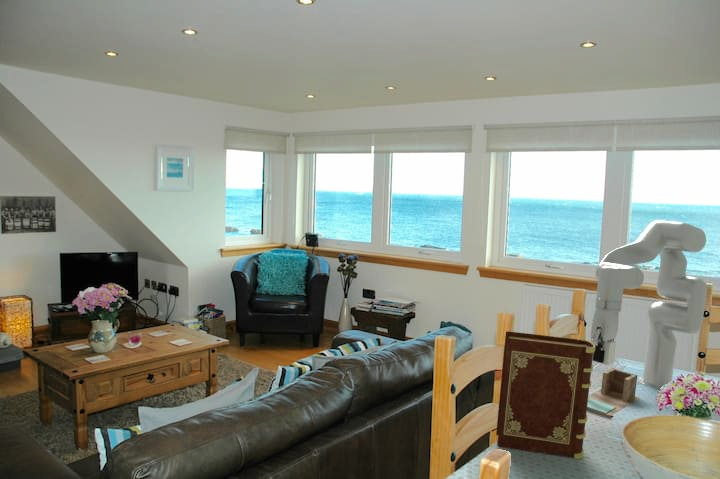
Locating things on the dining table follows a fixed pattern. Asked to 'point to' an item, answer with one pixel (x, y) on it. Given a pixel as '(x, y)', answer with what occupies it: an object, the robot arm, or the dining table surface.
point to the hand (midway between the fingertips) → (601, 359)
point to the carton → (608, 351)
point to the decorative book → (544, 394)
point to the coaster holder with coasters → (613, 393)
